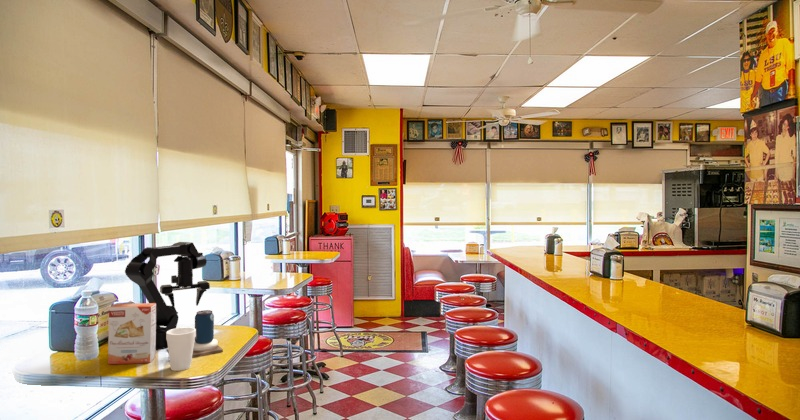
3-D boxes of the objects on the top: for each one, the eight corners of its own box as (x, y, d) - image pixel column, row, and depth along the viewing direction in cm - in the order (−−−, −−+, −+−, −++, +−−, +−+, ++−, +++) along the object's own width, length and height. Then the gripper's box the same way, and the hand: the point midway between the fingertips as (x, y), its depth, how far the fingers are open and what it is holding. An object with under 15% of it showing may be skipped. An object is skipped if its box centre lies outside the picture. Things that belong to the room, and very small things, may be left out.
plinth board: (178, 360, 163) (178, 352, 163) (168, 349, 176) (168, 341, 176) (222, 351, 174) (222, 344, 174) (210, 341, 186) (210, 334, 186)
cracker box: (107, 365, 157) (107, 306, 157) (114, 359, 163) (115, 303, 163) (150, 363, 160) (150, 305, 160) (156, 357, 166) (156, 302, 166)
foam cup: (167, 364, 159) (167, 328, 159) (195, 361, 163) (196, 326, 163) (164, 374, 150) (165, 335, 150) (194, 370, 154) (195, 333, 154)
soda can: (217, 340, 178) (217, 310, 178) (205, 345, 172) (205, 314, 171) (203, 338, 180) (203, 309, 180) (190, 343, 173) (190, 313, 173)
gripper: (203, 266, 203) (203, 300, 203) (157, 270, 191) (158, 306, 192) (209, 270, 194) (210, 305, 194) (162, 274, 183) (162, 311, 183)
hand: (185, 307), depth 191 cm, fingers open, 9 cm apart
